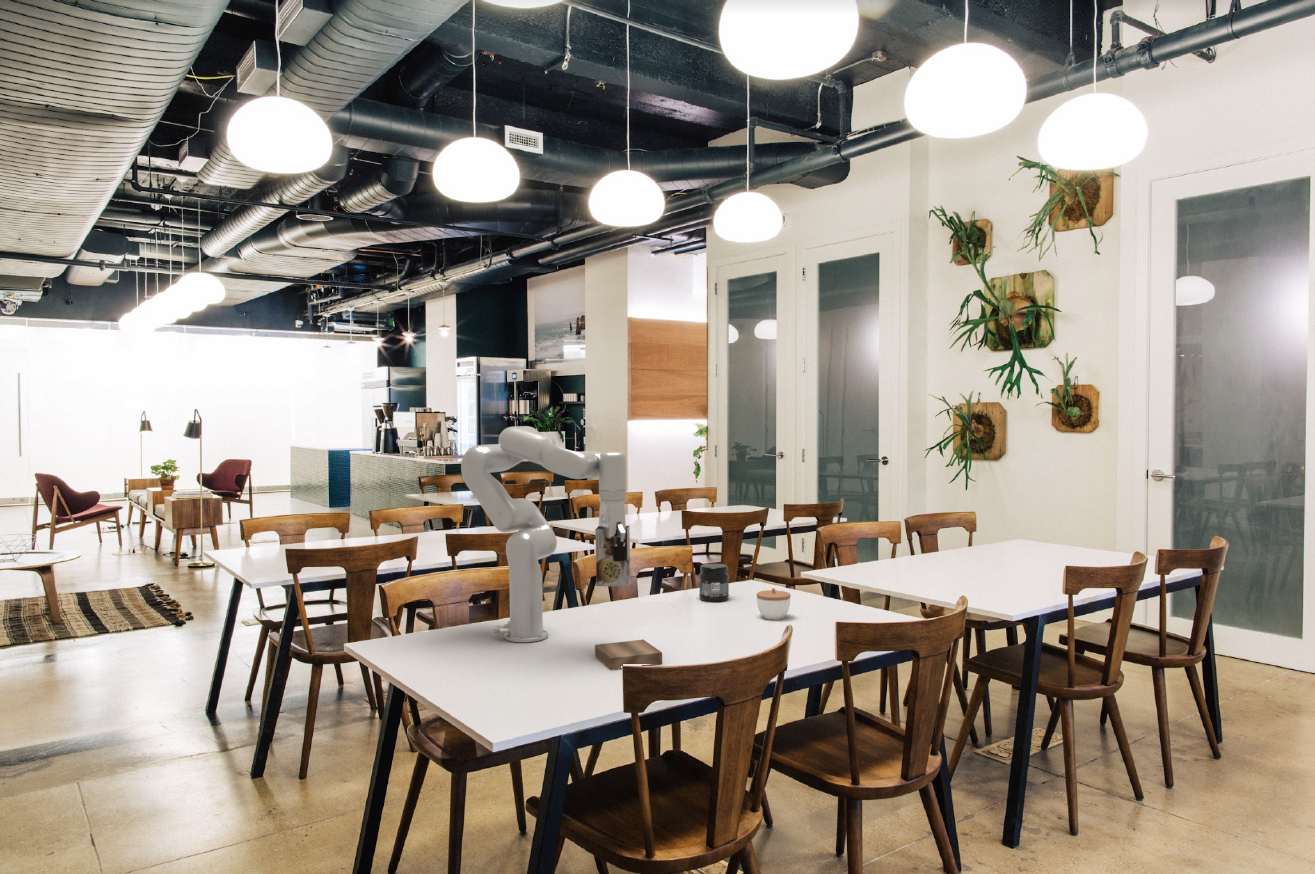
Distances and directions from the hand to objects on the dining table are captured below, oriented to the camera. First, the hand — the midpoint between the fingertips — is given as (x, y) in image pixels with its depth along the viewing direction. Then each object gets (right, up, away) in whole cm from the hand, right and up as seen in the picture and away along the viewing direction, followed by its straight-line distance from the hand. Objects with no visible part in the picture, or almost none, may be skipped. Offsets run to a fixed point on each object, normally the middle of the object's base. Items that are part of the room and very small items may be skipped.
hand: (613, 558), depth 234 cm
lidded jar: (+50, -24, +36) cm, 66 cm away
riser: (+4, -25, -11) cm, 28 cm away
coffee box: (0, -8, 0) cm, 8 cm away
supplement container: (+32, -24, +63) cm, 75 cm away
